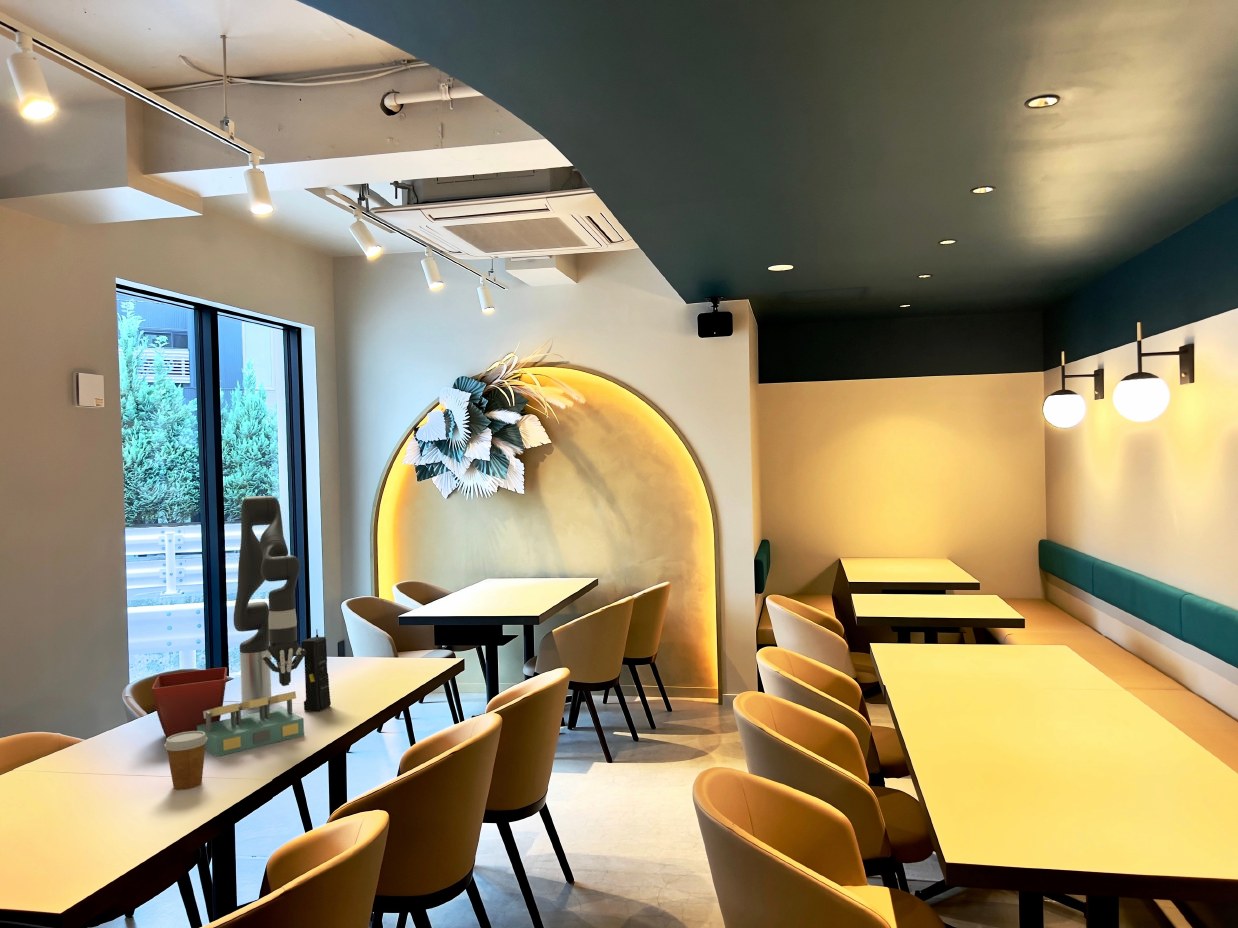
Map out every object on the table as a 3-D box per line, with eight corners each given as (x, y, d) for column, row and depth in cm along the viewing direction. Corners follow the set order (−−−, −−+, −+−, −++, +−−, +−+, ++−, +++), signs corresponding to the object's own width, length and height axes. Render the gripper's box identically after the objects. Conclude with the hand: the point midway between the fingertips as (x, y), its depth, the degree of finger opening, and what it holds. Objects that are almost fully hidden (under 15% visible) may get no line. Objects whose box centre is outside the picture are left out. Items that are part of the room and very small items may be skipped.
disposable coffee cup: (176, 779, 215) (174, 731, 215) (215, 776, 216) (213, 729, 216) (158, 793, 206) (157, 743, 206) (200, 790, 206) (198, 740, 206)
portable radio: (318, 712, 271) (315, 633, 271) (301, 712, 272) (298, 633, 272) (332, 705, 279) (329, 629, 279) (315, 705, 280) (312, 629, 280)
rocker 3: (261, 706, 255) (260, 699, 255) (278, 702, 258) (277, 695, 259) (278, 701, 244) (277, 694, 245) (296, 698, 248) (295, 691, 248)
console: (197, 742, 244) (196, 707, 244) (282, 723, 260) (280, 690, 261) (217, 756, 231) (215, 718, 232) (304, 735, 248) (303, 700, 248)
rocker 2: (233, 712, 250) (232, 705, 250) (250, 708, 253) (250, 701, 253) (249, 707, 239) (249, 700, 239) (268, 704, 242) (267, 696, 243)
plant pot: (160, 729, 259) (158, 674, 259) (229, 720, 267) (227, 666, 267) (153, 747, 242) (151, 688, 242) (227, 736, 249) (225, 679, 249)
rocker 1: (203, 718, 244) (203, 711, 245) (222, 714, 248) (221, 707, 248) (219, 714, 234) (218, 706, 234) (238, 710, 237) (237, 702, 237)
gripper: (300, 620, 254) (302, 678, 254) (254, 627, 246) (257, 687, 245) (310, 623, 249) (312, 682, 249) (264, 630, 240) (266, 691, 240)
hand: (285, 685), depth 247 cm, fingers closed
